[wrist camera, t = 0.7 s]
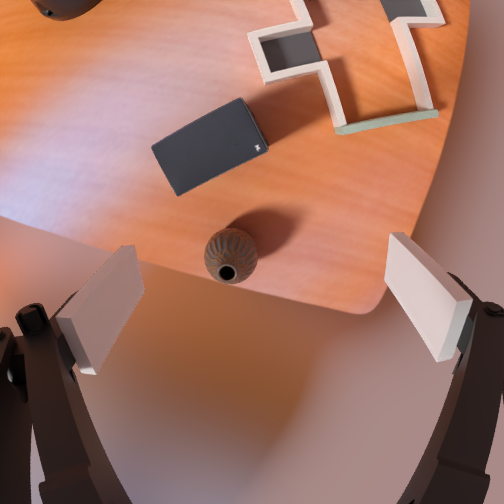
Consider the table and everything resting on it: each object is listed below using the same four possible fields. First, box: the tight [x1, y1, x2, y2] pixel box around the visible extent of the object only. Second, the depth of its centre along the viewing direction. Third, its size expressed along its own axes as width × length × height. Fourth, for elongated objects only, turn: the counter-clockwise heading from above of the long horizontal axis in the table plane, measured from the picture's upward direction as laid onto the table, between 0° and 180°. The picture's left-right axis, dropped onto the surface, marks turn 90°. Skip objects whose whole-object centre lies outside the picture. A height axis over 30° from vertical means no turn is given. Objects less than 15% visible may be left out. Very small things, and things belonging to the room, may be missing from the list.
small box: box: [151, 97, 269, 196], centre depth 33 cm, size 11×6×10 cm, turn 116°
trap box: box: [247, 0, 446, 135], centre depth 29 cm, size 28×28×4 cm
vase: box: [204, 228, 258, 284], centre depth 39 cm, size 7×7×9 cm
